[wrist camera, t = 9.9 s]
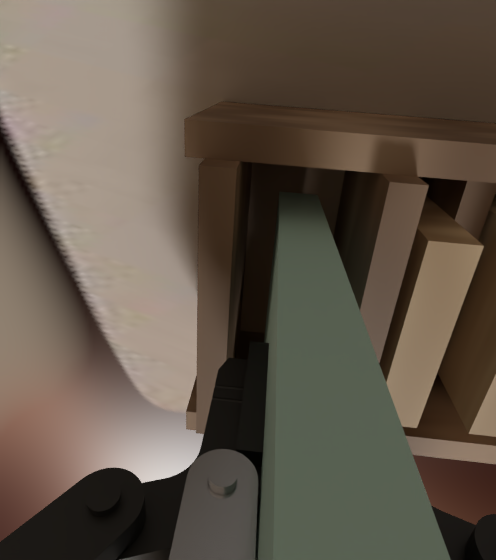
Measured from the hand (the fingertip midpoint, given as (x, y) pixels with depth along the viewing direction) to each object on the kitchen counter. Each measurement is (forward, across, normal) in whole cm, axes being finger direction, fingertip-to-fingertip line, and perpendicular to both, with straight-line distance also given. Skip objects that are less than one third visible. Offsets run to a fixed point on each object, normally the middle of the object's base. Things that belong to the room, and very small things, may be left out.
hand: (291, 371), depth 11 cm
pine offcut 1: (+9, -4, 0) cm, 10 cm away
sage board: (+7, 0, 0) cm, 7 cm away
